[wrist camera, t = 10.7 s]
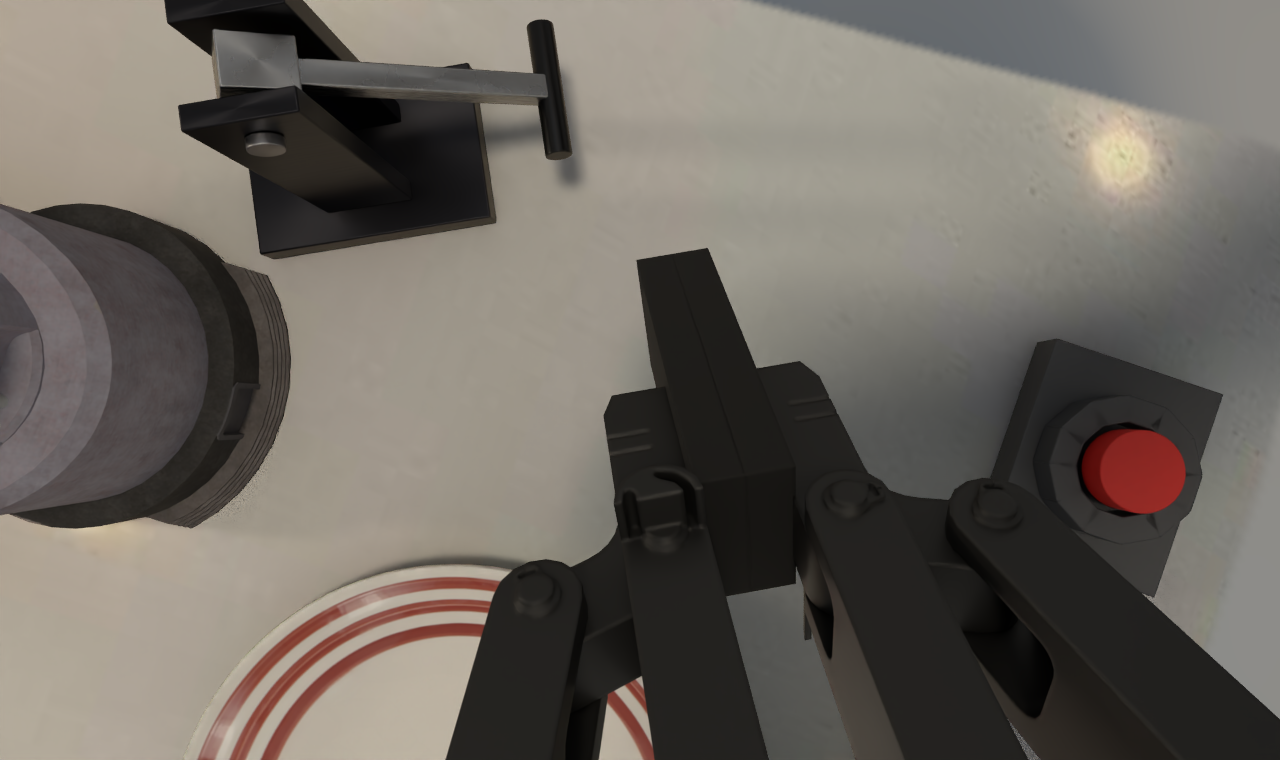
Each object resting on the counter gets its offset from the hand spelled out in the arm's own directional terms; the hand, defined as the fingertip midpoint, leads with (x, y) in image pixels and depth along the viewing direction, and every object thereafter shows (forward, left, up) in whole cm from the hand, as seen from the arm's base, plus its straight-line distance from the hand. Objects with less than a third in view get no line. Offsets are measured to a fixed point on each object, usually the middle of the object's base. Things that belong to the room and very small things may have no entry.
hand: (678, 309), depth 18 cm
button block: (-18, +10, -25) cm, 32 cm away
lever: (+8, -14, -16) cm, 23 cm away
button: (-18, +10, -21) cm, 29 cm away
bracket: (+12, -15, -25) cm, 31 cm away
